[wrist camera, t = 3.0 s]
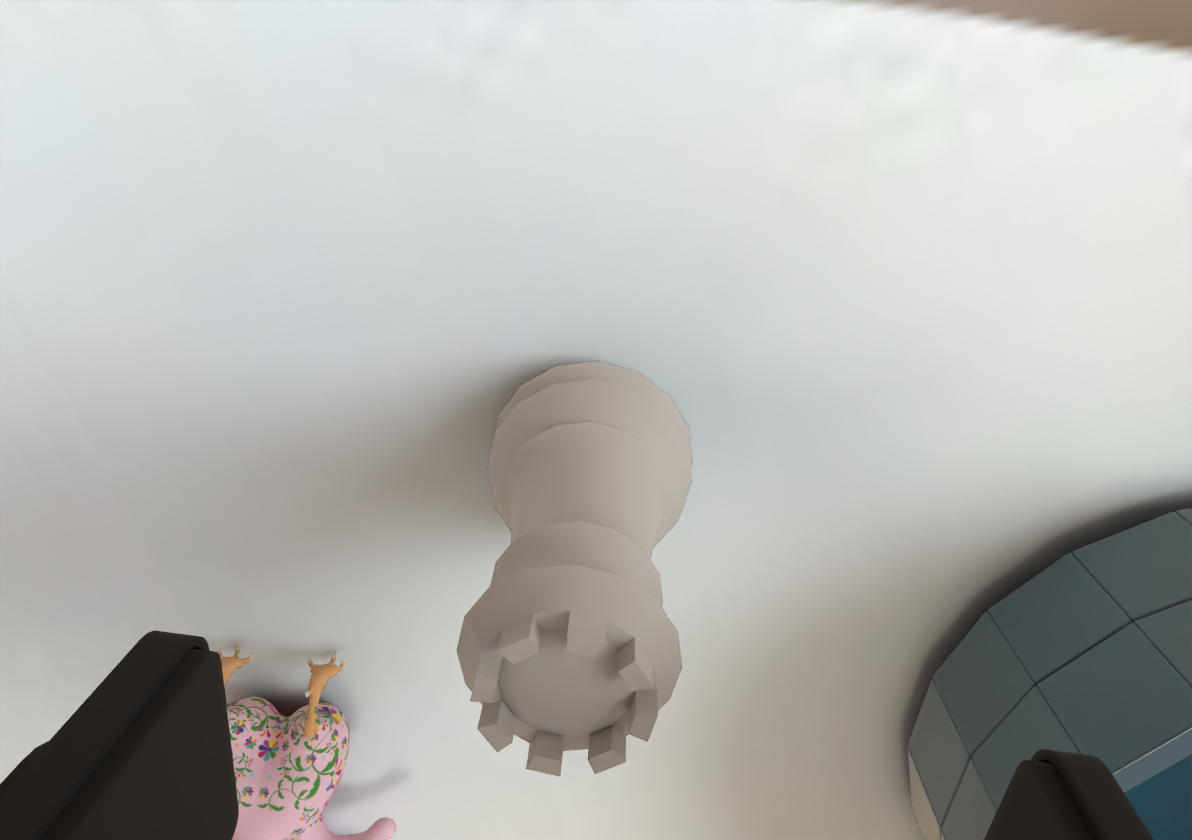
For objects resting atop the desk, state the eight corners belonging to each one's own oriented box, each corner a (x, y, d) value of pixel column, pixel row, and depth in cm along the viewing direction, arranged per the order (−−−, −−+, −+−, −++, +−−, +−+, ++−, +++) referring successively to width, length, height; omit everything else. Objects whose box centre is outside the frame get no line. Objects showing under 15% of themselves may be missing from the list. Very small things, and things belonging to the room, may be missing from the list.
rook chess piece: (464, 484, 18) (354, 757, 11) (543, 318, 17) (471, 513, 9) (636, 558, 19) (636, 863, 12) (728, 406, 17) (795, 652, 10)
